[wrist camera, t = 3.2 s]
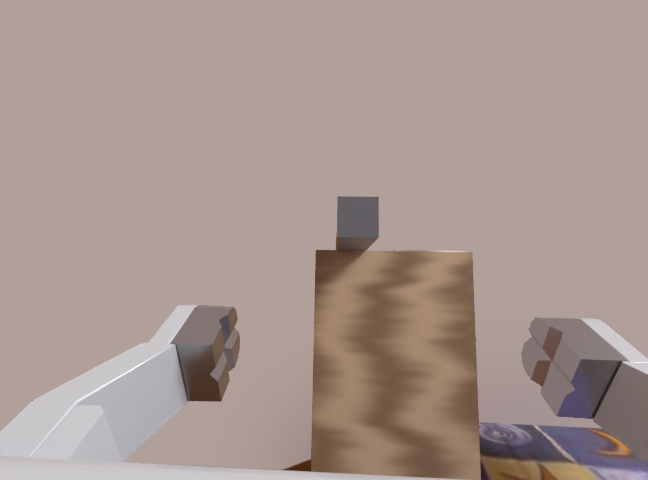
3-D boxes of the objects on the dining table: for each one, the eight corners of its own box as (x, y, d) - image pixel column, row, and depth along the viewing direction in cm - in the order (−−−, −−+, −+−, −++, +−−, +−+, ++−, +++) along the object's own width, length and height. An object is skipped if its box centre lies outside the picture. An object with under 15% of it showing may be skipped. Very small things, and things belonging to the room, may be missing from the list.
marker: (358, 259, 39) (358, 237, 39) (381, 237, 19) (380, 192, 19) (336, 259, 39) (336, 237, 39) (334, 236, 19) (335, 191, 19)
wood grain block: (435, 497, 35) (430, 259, 39) (485, 607, 24) (472, 250, 27) (317, 492, 36) (322, 257, 39) (308, 596, 24) (315, 247, 27)
